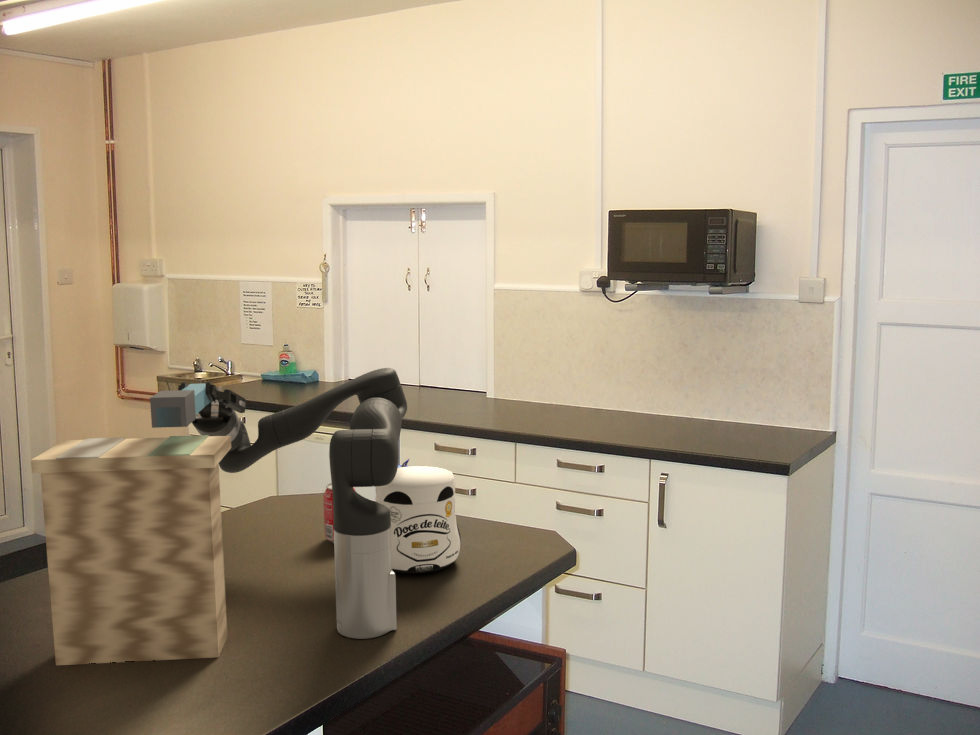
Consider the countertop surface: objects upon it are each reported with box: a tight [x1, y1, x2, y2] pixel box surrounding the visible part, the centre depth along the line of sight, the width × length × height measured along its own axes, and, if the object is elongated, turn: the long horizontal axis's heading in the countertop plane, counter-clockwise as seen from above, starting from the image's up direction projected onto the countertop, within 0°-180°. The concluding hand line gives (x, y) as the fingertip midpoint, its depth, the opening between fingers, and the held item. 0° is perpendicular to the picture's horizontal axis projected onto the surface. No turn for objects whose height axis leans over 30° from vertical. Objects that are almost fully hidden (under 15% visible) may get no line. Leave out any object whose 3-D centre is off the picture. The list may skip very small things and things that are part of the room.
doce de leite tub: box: [374, 465, 461, 574], centre depth 174 cm, size 17×17×18 cm
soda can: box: [323, 482, 356, 544], centre depth 189 cm, size 7×7×12 cm
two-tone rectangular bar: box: [149, 382, 213, 429], centre depth 142 cm, size 5×22×4 cm, turn 6°
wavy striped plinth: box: [30, 434, 231, 666], centre depth 139 cm, size 26×13×32 cm, turn 96°
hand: (195, 387), depth 148 cm, fingers closed on two-tone rectangular bar, 3 cm apart
